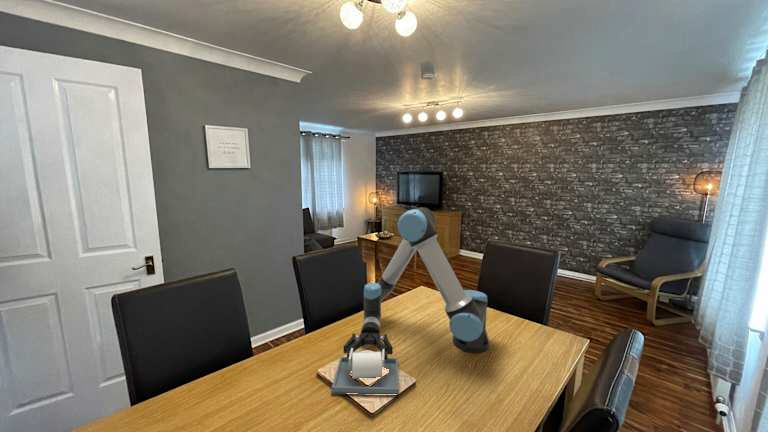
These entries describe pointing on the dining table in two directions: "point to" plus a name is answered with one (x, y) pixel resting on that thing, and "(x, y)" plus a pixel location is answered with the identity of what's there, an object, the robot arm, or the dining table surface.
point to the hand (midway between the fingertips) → (366, 363)
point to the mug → (366, 364)
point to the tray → (349, 385)
